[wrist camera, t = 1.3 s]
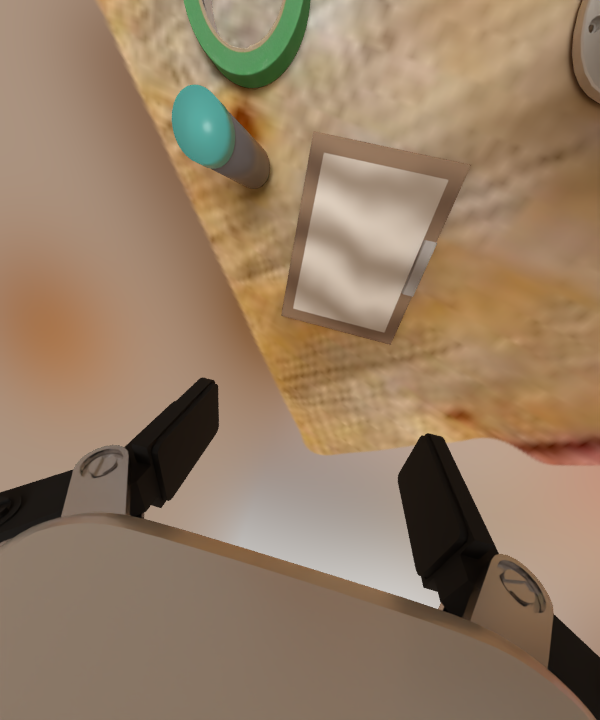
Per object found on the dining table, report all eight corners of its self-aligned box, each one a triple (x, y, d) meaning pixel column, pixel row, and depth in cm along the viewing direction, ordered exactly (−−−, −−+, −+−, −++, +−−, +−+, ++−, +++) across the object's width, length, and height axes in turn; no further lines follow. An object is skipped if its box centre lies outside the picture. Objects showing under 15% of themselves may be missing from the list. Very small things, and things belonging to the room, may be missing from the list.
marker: (241, 143, 26) (170, 79, 16) (276, 150, 26) (227, 91, 15) (238, 187, 28) (173, 157, 18) (271, 195, 28) (224, 168, 17)
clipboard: (314, 135, 25) (312, 127, 23) (466, 167, 24) (476, 162, 22) (283, 313, 34) (279, 317, 33) (389, 341, 33) (391, 347, 32)
